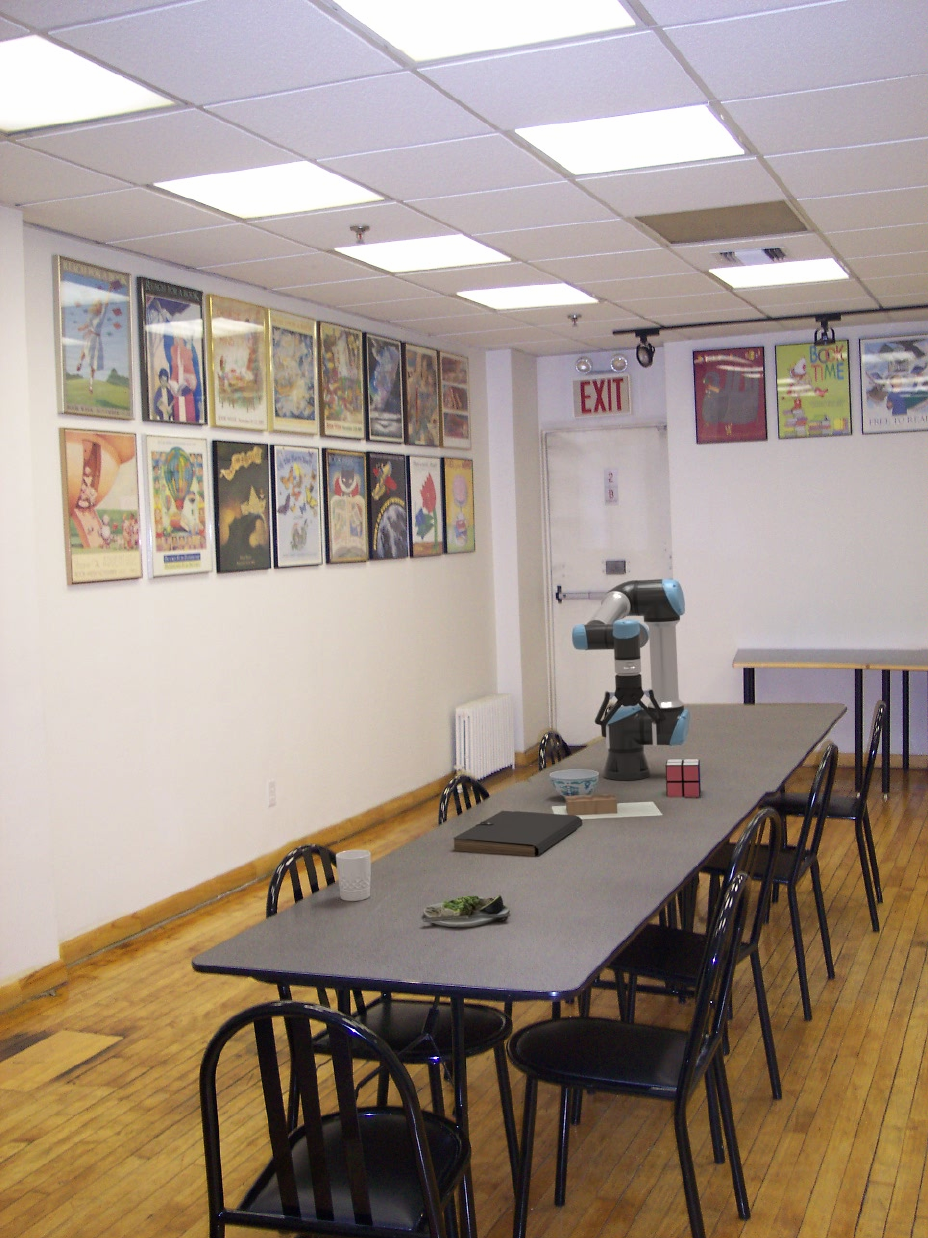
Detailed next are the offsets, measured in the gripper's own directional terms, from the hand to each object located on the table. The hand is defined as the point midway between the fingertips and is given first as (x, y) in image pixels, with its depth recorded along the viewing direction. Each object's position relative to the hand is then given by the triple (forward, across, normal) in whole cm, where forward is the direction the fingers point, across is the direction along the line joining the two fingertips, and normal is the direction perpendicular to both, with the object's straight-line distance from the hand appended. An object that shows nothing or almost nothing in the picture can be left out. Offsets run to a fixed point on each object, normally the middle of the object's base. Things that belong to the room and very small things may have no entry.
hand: (631, 747), depth 353 cm
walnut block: (+16, -5, -1) cm, 17 cm away
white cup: (+17, -74, -75) cm, 107 cm away
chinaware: (+19, -15, +19) cm, 31 cm away
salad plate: (+17, -48, -93) cm, 106 cm away
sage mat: (+18, -8, -1) cm, 20 cm away
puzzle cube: (+19, +18, +18) cm, 32 cm away
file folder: (+19, -34, -27) cm, 47 cm away
